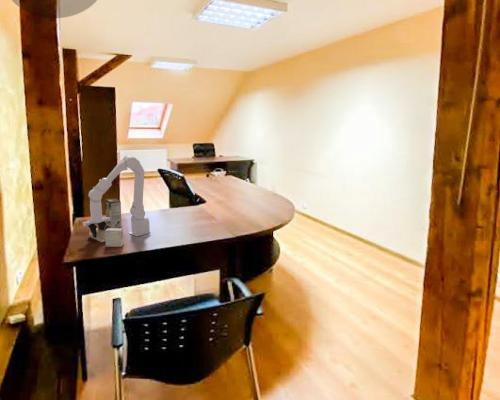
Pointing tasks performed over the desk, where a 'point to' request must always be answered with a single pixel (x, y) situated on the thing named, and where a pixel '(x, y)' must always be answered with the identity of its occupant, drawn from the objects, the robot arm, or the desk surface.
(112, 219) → the coffee box
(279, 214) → the desk surface
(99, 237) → the beige block
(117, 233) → the medicine box
